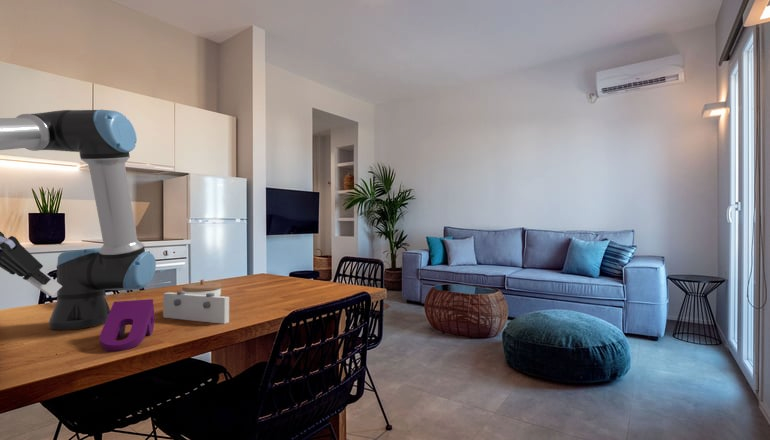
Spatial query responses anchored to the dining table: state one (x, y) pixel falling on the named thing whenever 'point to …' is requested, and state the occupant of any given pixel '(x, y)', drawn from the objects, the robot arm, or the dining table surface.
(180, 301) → the hinge seat
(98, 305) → the robot arm
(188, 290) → the lidded bowl
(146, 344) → the dining table surface
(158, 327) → the dining table surface
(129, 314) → the mounting bracket
